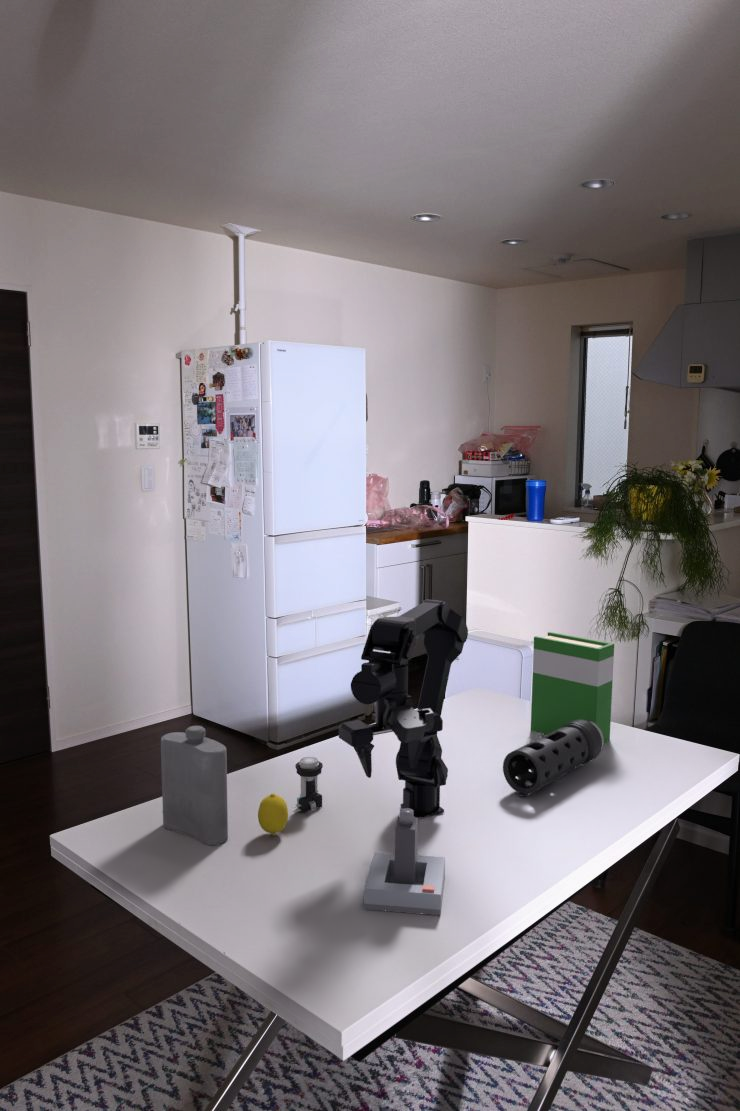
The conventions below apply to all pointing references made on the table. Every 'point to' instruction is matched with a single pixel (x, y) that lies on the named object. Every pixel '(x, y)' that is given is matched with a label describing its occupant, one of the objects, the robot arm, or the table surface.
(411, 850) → the plug
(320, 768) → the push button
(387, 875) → the socket box
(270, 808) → the lemon
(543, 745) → the muzzle brake
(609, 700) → the hardback book
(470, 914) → the table surface
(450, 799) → the table surface
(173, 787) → the flask
